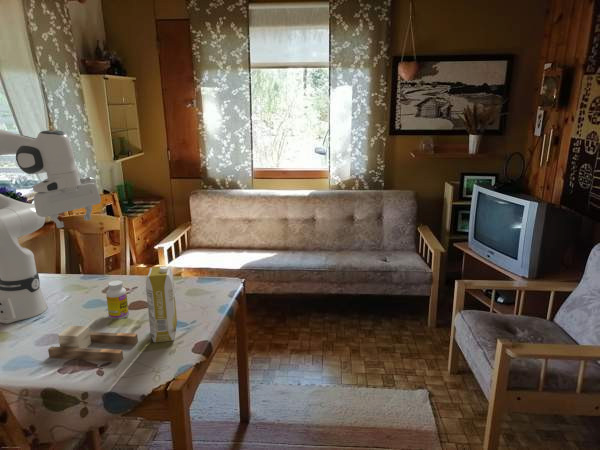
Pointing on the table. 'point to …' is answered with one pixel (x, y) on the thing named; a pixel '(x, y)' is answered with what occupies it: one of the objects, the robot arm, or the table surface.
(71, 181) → the robot arm
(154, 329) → the juice carton
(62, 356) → the chute
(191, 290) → the table surface
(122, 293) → the supplement bottle
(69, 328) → the block
